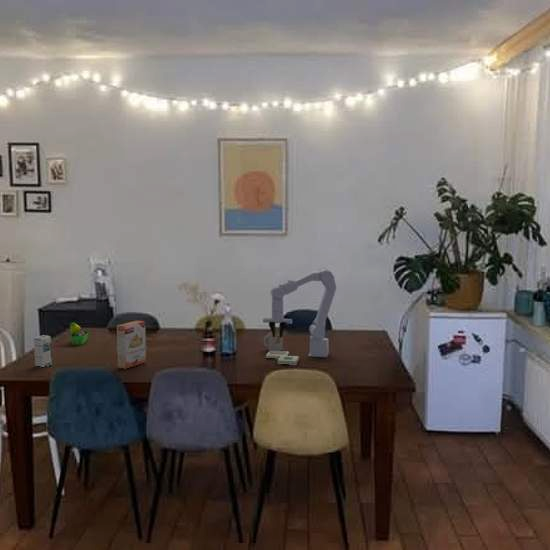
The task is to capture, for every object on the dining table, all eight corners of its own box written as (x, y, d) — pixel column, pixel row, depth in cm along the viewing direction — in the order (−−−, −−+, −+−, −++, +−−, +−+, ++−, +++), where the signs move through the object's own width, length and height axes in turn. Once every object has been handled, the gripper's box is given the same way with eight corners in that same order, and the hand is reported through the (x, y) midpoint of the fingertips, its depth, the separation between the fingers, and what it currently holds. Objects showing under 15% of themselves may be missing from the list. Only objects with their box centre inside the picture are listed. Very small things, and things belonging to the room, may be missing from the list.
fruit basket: (83, 345, 371) (83, 324, 369) (67, 345, 371) (66, 324, 370) (90, 340, 382) (89, 320, 381) (74, 340, 382) (73, 320, 381)
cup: (281, 352, 355) (281, 335, 353) (262, 351, 357) (262, 334, 355) (283, 348, 362) (283, 332, 360) (265, 347, 364) (265, 331, 362)
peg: (281, 342, 345) (281, 326, 344) (278, 343, 342) (278, 328, 341) (276, 341, 346) (276, 326, 345) (273, 343, 344) (273, 327, 343)
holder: (298, 360, 339) (298, 356, 339) (295, 365, 330) (295, 361, 330) (280, 359, 341) (280, 355, 340) (277, 364, 332) (277, 360, 332)
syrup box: (43, 368, 327) (42, 338, 325) (34, 366, 330) (33, 337, 328) (52, 365, 332) (51, 335, 330) (44, 363, 335) (42, 334, 333)
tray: (289, 355, 349) (289, 351, 349) (285, 359, 340) (285, 356, 340) (269, 354, 351) (269, 350, 351) (266, 358, 342) (266, 355, 342)
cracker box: (126, 370, 323) (125, 326, 320) (117, 368, 327) (115, 325, 324) (147, 363, 335) (145, 321, 332) (137, 361, 338) (136, 319, 335)
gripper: (293, 309, 345) (293, 335, 347) (264, 308, 347) (265, 334, 349) (290, 312, 338) (290, 339, 340) (262, 311, 341) (262, 337, 343)
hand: (277, 337), depth 344 cm, fingers closed on peg, 3 cm apart
